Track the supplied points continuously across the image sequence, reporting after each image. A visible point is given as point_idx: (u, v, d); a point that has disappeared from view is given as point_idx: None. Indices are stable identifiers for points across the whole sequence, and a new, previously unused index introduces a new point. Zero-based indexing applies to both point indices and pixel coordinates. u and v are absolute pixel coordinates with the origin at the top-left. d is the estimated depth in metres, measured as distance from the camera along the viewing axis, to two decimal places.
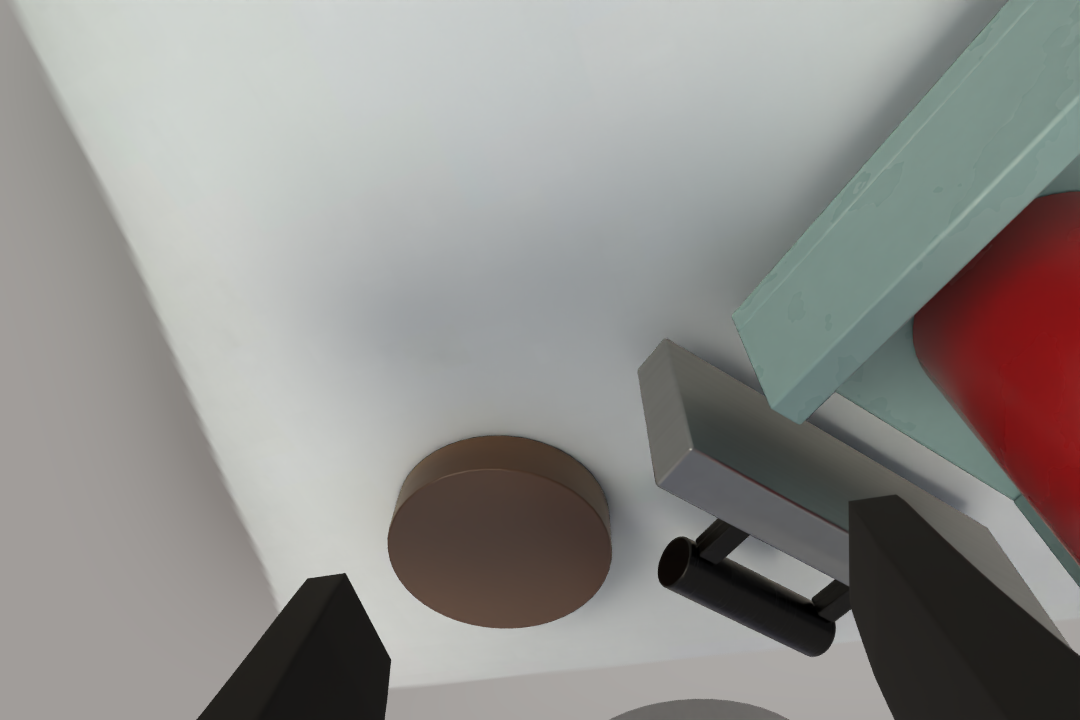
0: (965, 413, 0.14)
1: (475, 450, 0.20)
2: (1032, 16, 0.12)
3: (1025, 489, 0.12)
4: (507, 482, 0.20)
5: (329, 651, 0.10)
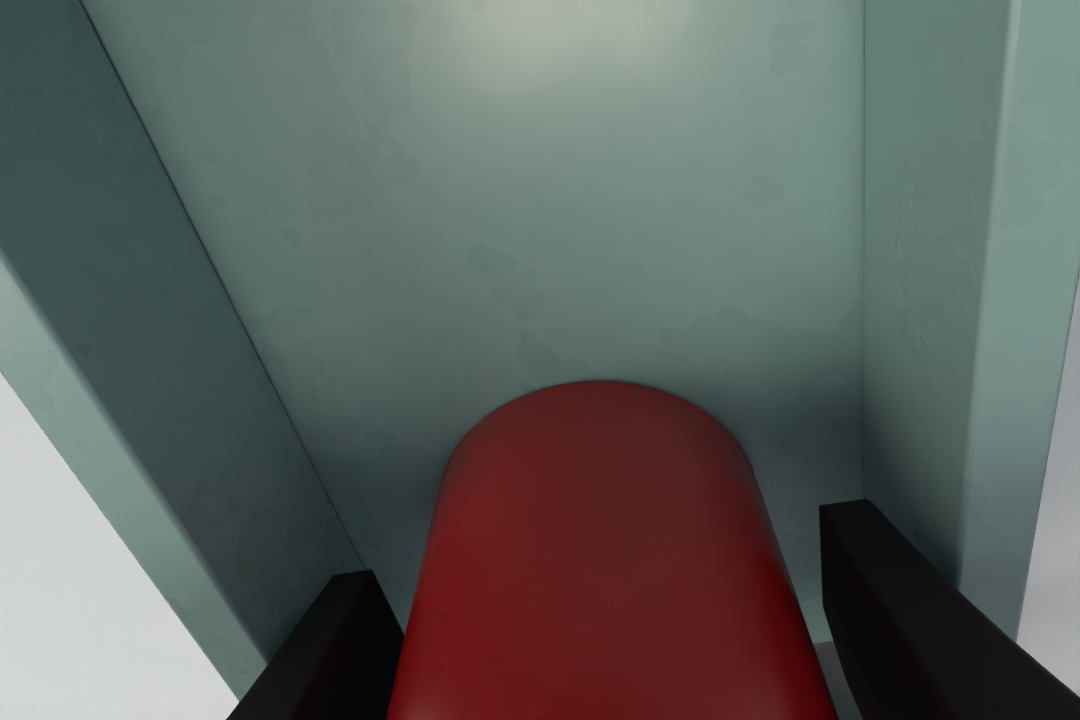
0: None
1: None
2: None
3: None
4: None
5: (358, 647, 0.09)
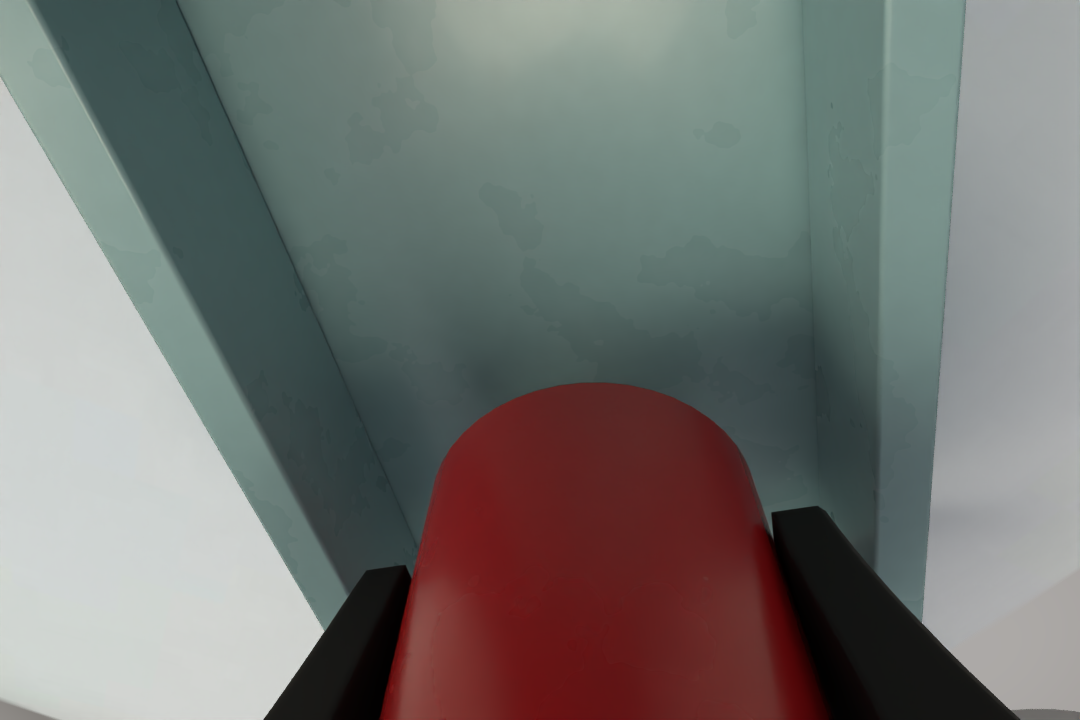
0: None
1: None
2: None
3: None
4: None
5: (394, 643, 0.09)
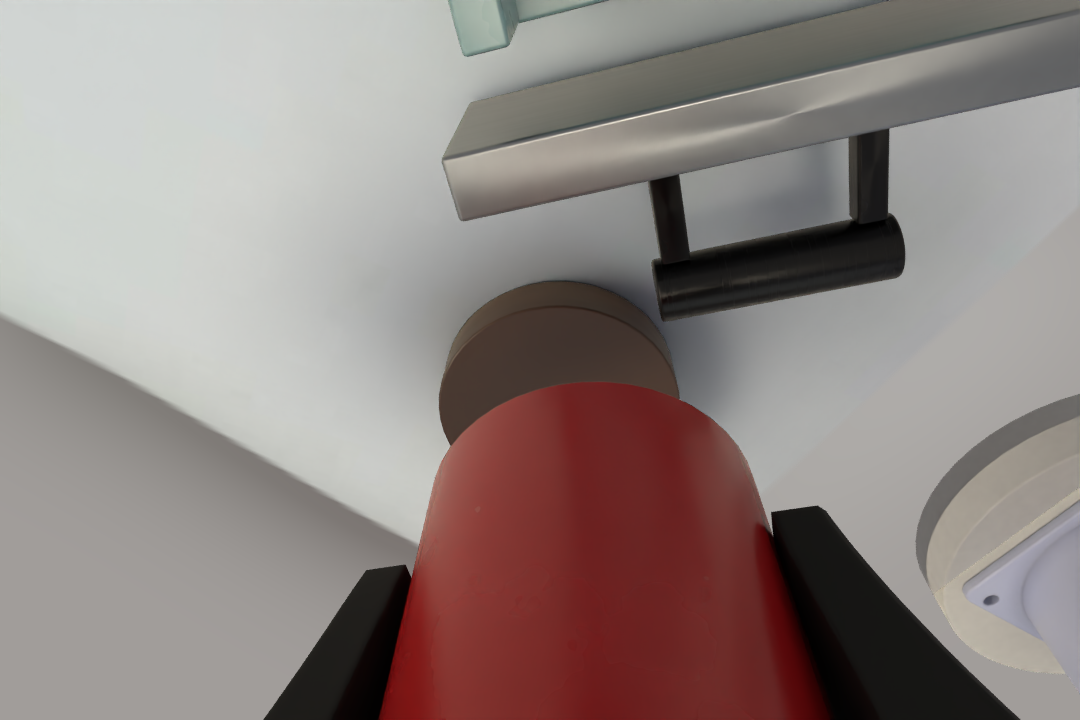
0: None
1: (458, 339, 0.19)
2: None
3: None
4: (491, 343, 0.19)
5: (394, 643, 0.09)
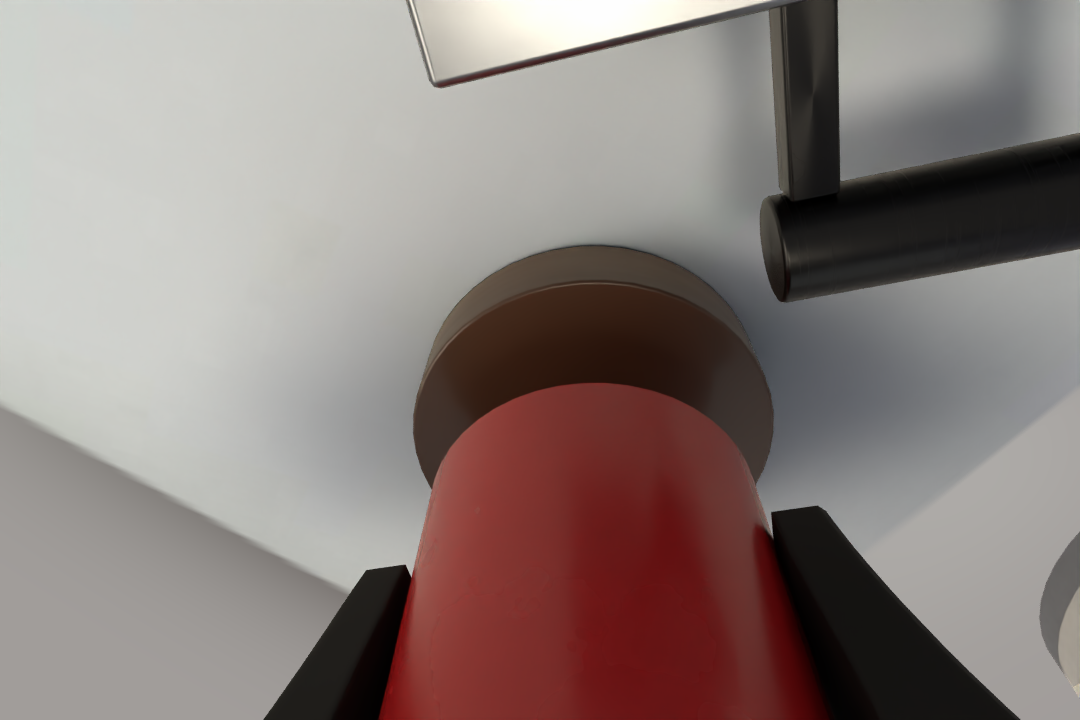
0: None
1: (443, 332, 0.13)
2: None
3: None
4: (492, 338, 0.12)
5: (394, 643, 0.09)
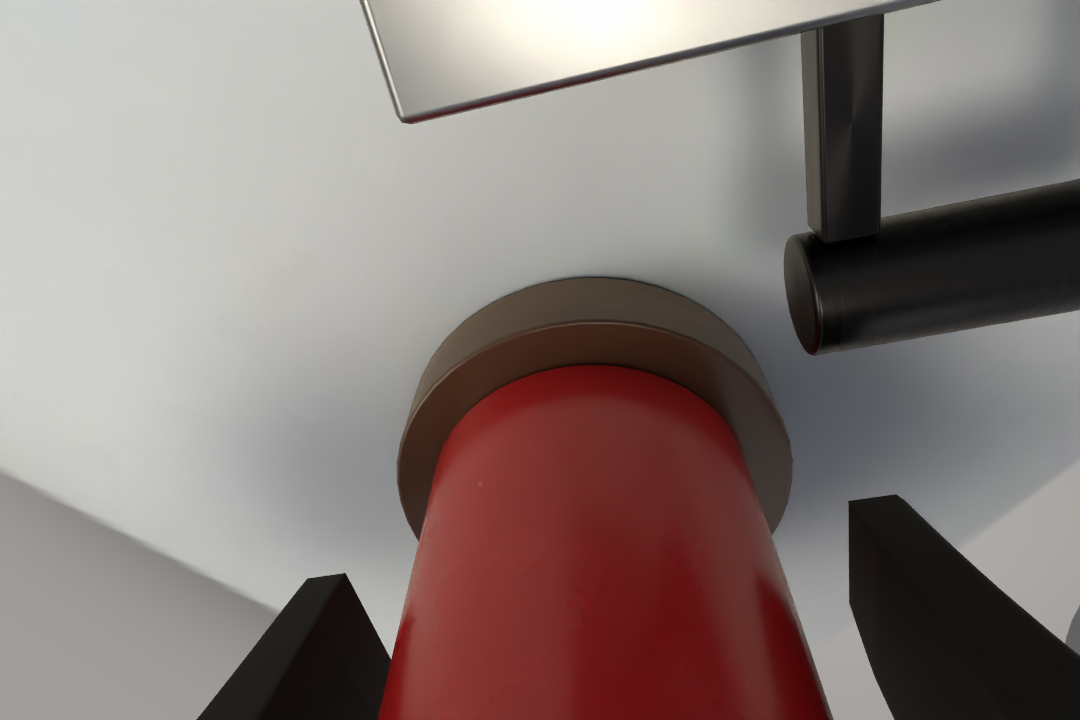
0: None
1: (429, 371, 0.12)
2: None
3: None
4: (482, 382, 0.11)
5: (329, 651, 0.10)
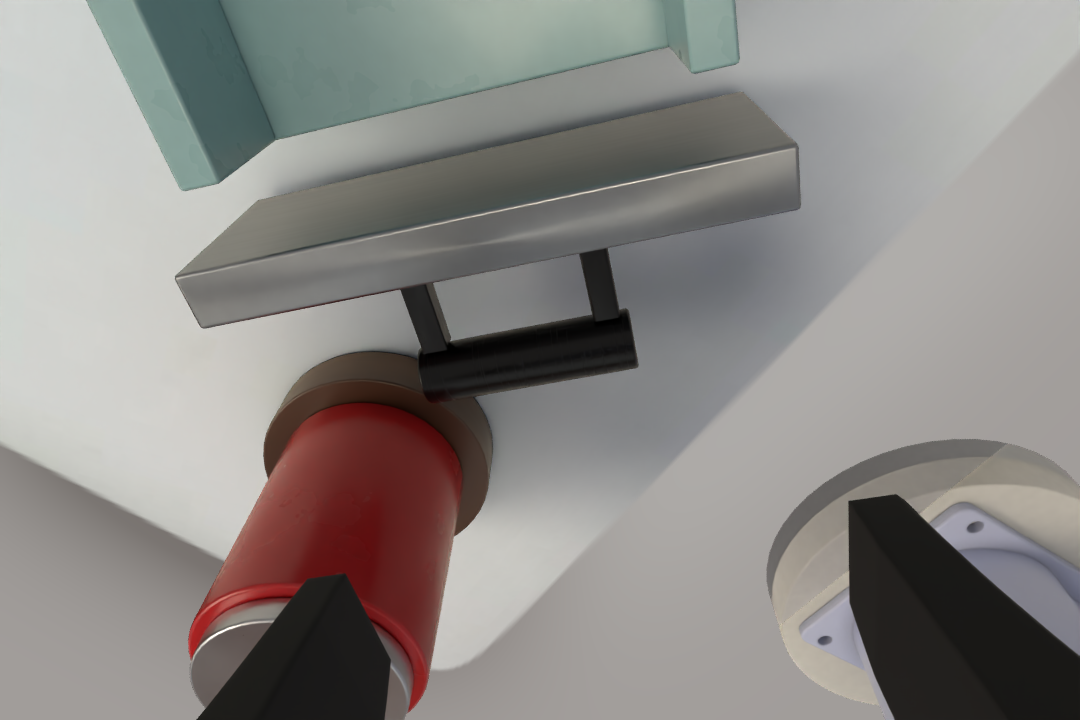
0: None
1: (281, 404, 0.21)
2: None
3: None
4: (304, 411, 0.20)
5: (329, 651, 0.10)
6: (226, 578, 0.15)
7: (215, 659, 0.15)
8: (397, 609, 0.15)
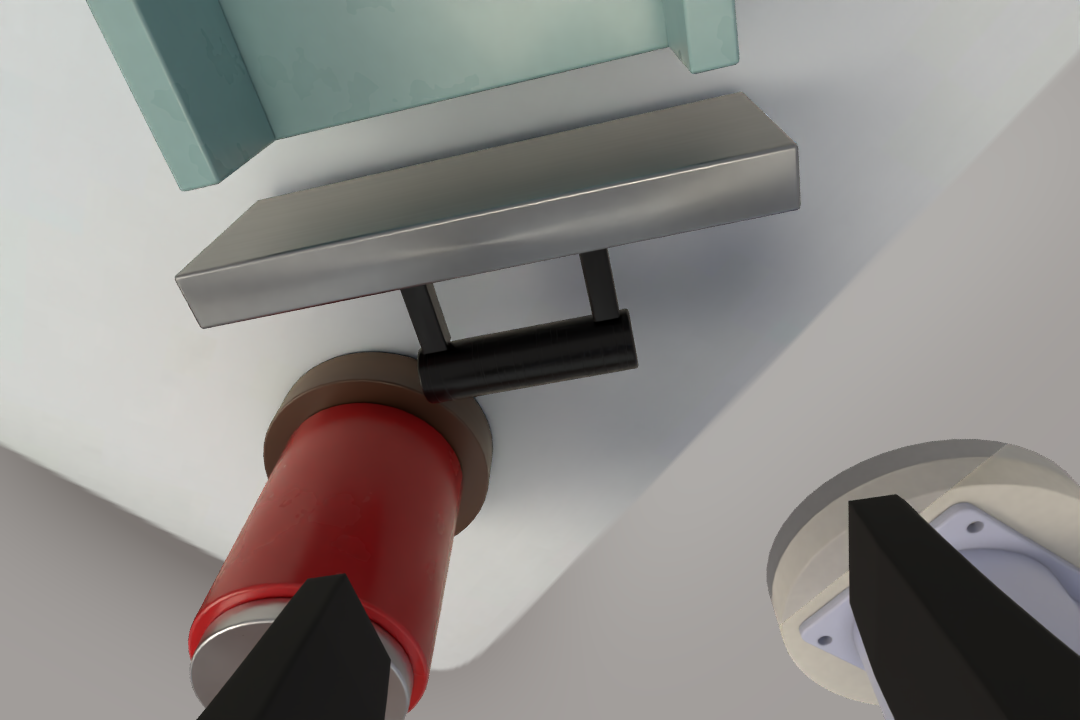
0: None
1: None
2: None
3: None
4: (303, 411, 0.20)
5: (329, 651, 0.10)
6: (226, 578, 0.15)
7: (215, 659, 0.15)
8: (398, 609, 0.15)
